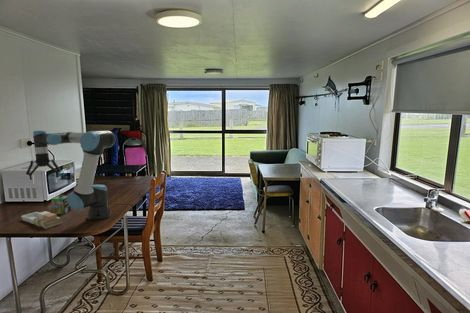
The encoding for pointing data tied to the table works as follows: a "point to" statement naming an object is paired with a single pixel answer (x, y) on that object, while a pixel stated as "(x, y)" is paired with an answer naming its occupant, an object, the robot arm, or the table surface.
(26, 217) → the tray
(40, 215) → the off-white block
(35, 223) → the birch board
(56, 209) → the chalk box
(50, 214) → the salmon tan block
